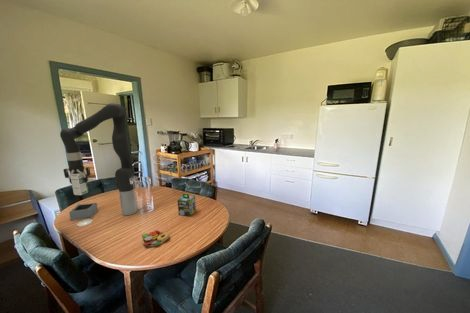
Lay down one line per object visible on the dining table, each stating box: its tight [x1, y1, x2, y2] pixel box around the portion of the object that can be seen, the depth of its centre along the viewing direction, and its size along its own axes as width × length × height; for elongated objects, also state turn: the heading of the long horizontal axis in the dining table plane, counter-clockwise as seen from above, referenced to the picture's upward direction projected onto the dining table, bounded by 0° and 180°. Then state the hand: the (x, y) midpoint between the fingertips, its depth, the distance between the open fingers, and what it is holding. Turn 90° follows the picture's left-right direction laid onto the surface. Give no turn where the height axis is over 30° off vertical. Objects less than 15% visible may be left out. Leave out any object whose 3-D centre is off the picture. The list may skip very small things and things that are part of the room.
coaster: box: [76, 218, 94, 228], centre depth 123 cm, size 8×8×1 cm
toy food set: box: [141, 229, 171, 247], centre depth 106 cm, size 13×13×3 cm
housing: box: [68, 201, 99, 221], centre depth 133 cm, size 11×11×6 cm
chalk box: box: [177, 193, 197, 217], centre depth 135 cm, size 9×9×15 cm
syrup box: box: [69, 171, 89, 196], centre depth 129 cm, size 6×6×14 cm
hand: (79, 182), depth 129 cm, fingers closed on syrup box, 7 cm apart
